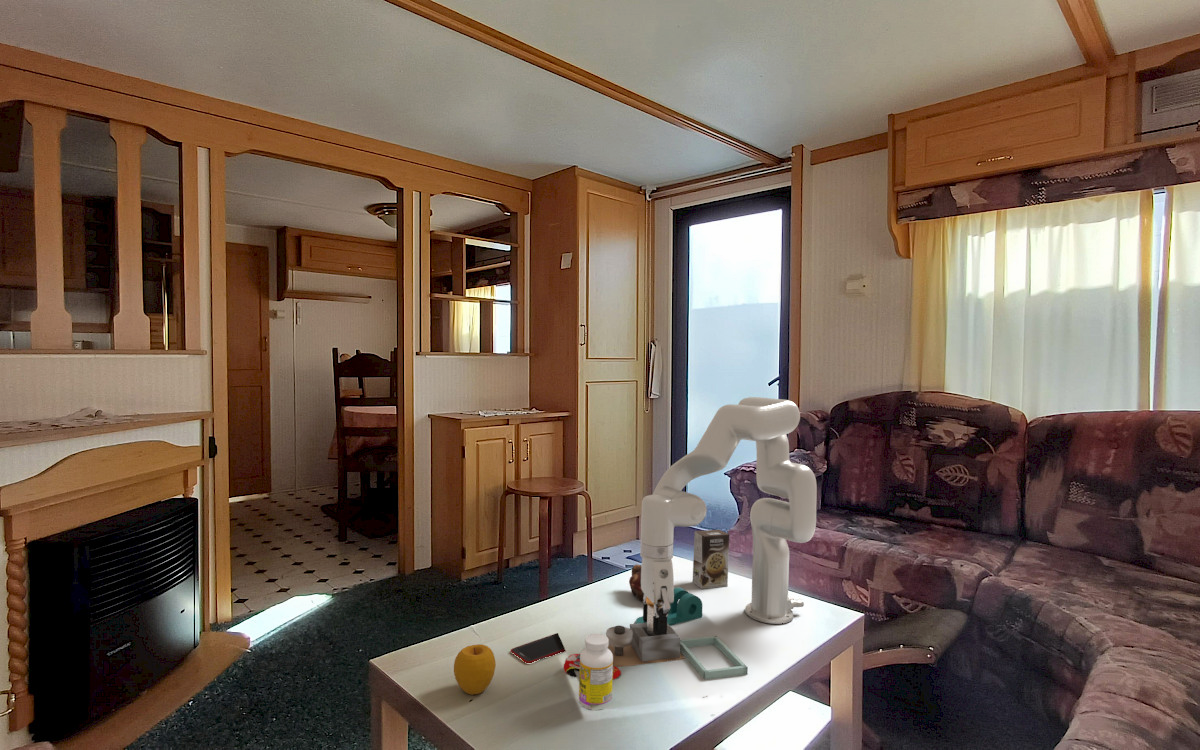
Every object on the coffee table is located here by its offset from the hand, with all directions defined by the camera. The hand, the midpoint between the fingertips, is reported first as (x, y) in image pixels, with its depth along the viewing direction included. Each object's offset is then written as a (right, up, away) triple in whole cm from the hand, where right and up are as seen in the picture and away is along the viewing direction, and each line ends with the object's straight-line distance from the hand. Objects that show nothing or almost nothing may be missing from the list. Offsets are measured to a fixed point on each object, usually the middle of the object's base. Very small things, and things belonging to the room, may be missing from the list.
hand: (654, 626), depth 139 cm
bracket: (+5, -7, +17) cm, 19 cm away
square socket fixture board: (-3, -7, -1) cm, 8 cm away
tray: (+12, -7, -4) cm, 15 cm away
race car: (-14, -7, -9) cm, 18 cm away
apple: (-38, -7, -15) cm, 42 cm away
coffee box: (+21, -7, +47) cm, 52 cm away
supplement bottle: (-14, -7, -19) cm, 25 cm away
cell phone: (-26, -7, +3) cm, 27 cm away
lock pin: (0, -6, 0) cm, 6 cm away
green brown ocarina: (+1, -6, +35) cm, 35 cm away
